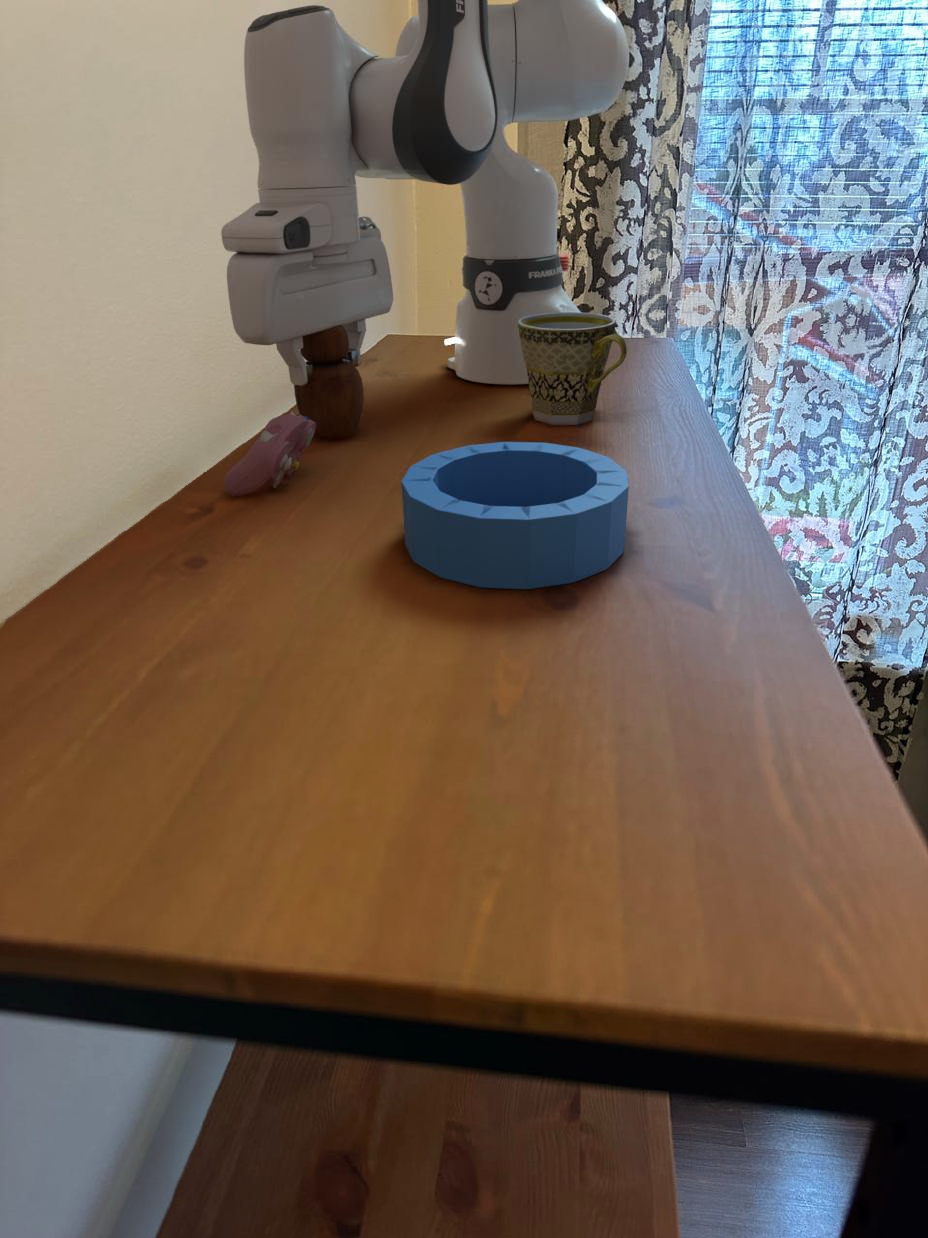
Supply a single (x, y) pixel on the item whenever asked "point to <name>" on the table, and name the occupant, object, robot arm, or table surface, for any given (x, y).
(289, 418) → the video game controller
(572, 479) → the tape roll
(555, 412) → the ceramic cup
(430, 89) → the robot arm
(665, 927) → the table surface
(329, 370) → the wooden figurine
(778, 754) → the table surface
